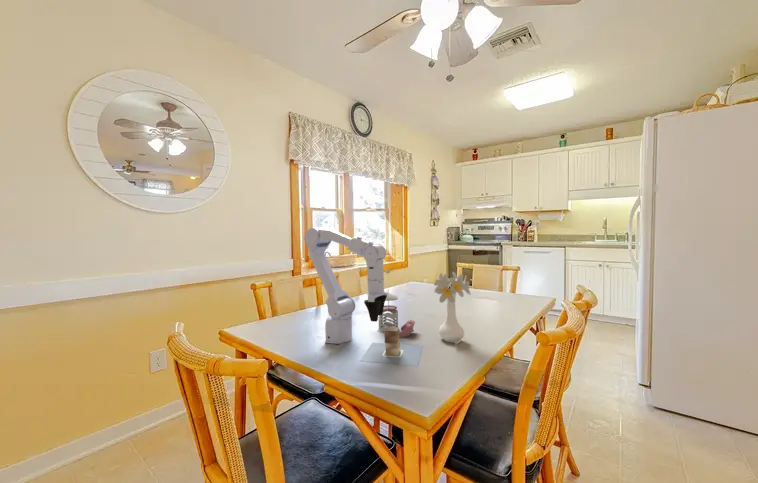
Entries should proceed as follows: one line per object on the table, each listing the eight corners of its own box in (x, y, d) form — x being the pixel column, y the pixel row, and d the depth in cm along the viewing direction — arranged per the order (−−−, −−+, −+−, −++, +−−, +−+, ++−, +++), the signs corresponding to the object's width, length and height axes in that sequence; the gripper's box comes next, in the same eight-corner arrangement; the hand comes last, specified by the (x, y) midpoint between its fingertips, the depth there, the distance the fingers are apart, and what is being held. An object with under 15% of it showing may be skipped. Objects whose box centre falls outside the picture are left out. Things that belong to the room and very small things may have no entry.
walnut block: (384, 342, 100) (384, 330, 100) (387, 338, 104) (387, 326, 104) (397, 343, 99) (396, 331, 99) (399, 339, 103) (398, 327, 103)
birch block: (385, 355, 100) (385, 342, 100) (388, 350, 104) (387, 338, 104) (397, 356, 99) (397, 343, 99) (399, 351, 103) (399, 339, 103)
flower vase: (432, 350, 105) (431, 277, 105) (435, 332, 123) (435, 270, 122) (472, 353, 102) (471, 277, 101) (470, 334, 120) (469, 270, 119)
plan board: (359, 363, 96) (359, 360, 96) (372, 344, 111) (372, 342, 111) (417, 368, 92) (417, 365, 92) (422, 348, 107) (422, 345, 107)
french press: (399, 335, 121) (398, 271, 120) (370, 334, 123) (369, 271, 122) (402, 327, 130) (401, 268, 129) (374, 326, 132) (373, 268, 132)
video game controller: (407, 343, 116) (416, 327, 116) (397, 337, 117) (405, 321, 116) (410, 334, 126) (417, 319, 125) (400, 329, 127) (407, 314, 126)
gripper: (382, 282, 100) (383, 324, 100) (390, 276, 114) (391, 312, 115) (361, 282, 102) (362, 323, 102) (372, 276, 116) (373, 312, 116)
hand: (376, 318), depth 108 cm, fingers open, 7 cm apart
